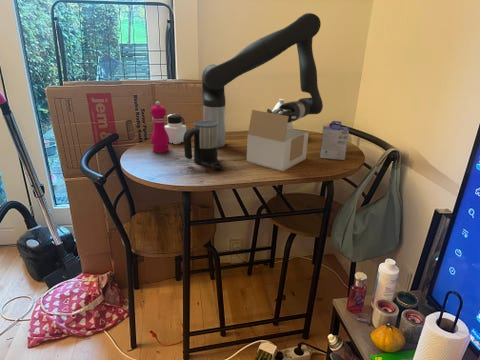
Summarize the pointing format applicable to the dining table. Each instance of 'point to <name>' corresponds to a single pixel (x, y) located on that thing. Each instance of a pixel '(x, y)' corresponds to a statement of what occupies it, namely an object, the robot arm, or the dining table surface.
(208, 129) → the milk frother
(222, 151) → the dining table surface
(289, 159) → the carton
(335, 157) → the ink cartridge box
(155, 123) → the pepper mill
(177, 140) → the medicine bottle
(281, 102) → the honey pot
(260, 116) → the front flap
